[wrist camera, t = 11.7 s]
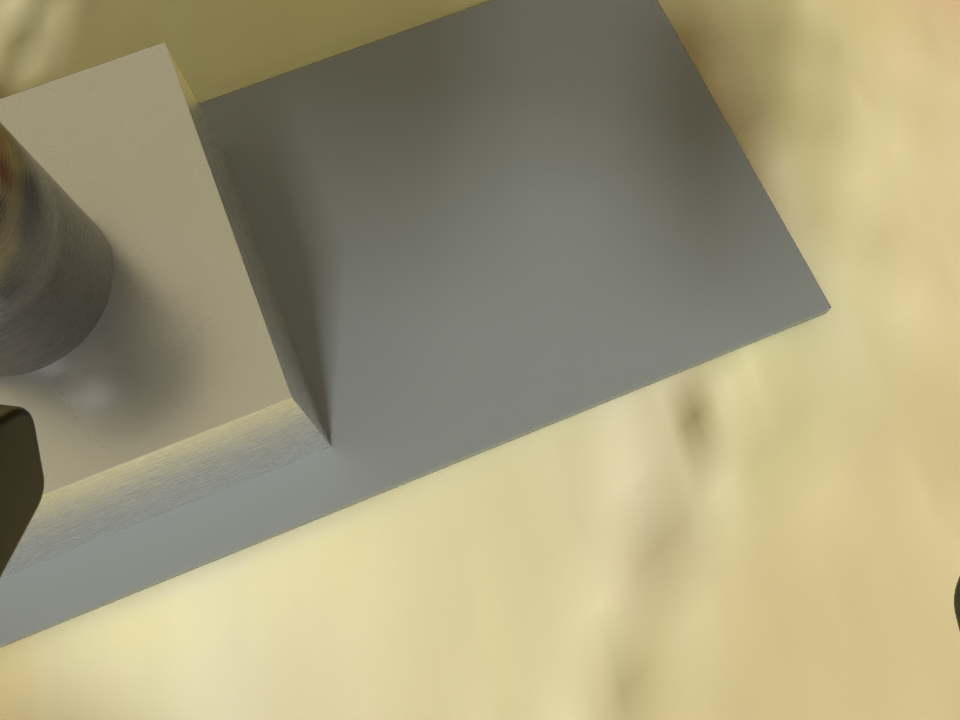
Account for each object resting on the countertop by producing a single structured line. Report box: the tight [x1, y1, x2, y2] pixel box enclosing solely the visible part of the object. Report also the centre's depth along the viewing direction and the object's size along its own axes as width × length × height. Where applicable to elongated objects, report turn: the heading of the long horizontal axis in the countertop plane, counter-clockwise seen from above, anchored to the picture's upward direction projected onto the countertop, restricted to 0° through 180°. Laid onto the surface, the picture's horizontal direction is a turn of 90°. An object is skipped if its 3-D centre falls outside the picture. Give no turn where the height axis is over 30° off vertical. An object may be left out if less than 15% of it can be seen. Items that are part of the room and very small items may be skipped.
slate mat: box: [0, 0, 831, 647], centre depth 24 cm, size 23×12×1 cm, turn 112°
